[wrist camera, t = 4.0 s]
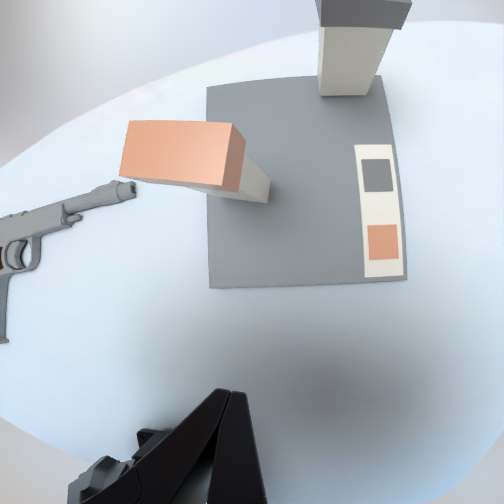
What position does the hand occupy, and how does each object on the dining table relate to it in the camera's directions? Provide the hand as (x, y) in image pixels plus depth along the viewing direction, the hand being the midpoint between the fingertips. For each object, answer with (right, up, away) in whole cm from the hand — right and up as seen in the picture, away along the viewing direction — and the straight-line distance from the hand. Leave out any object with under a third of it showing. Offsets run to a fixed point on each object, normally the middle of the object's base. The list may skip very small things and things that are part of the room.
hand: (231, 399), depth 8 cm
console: (+4, +9, +12) cm, 15 cm away
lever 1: (0, +8, +11) cm, 13 cm away
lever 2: (+6, +15, +10) cm, 19 cm away
